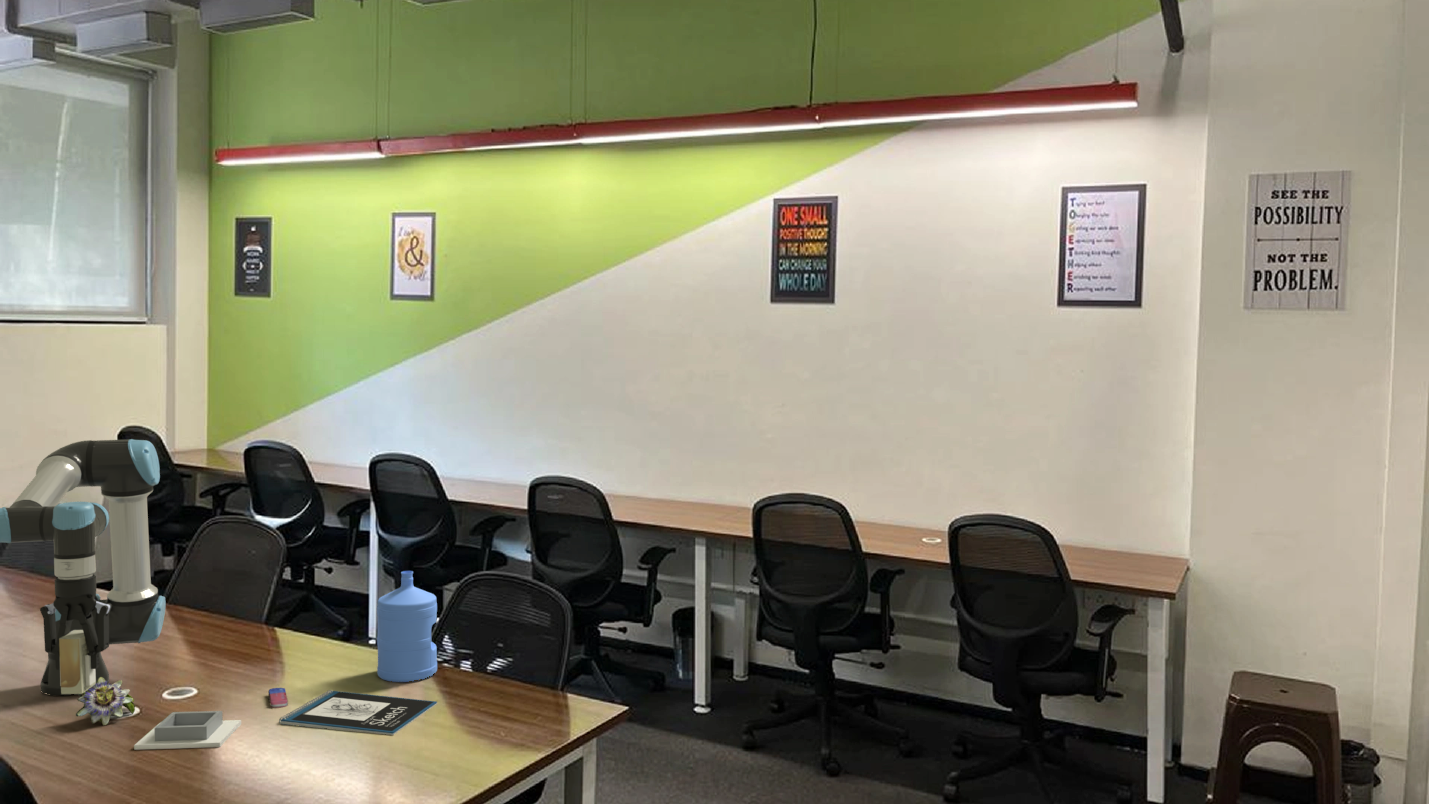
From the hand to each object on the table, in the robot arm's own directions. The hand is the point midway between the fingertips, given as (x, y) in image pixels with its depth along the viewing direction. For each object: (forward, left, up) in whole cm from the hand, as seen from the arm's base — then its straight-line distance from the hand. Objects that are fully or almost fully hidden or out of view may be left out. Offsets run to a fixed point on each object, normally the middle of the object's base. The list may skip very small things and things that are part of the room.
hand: (78, 683), depth 223 cm
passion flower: (-6, +25, -17) cm, 31 cm away
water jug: (+59, +54, -17) cm, 82 cm away
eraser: (+31, +35, -17) cm, 49 cm away
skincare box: (0, 0, -2) cm, 2 cm away
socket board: (+18, +12, -17) cm, 27 cm away
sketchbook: (+53, +24, -17) cm, 61 cm away
